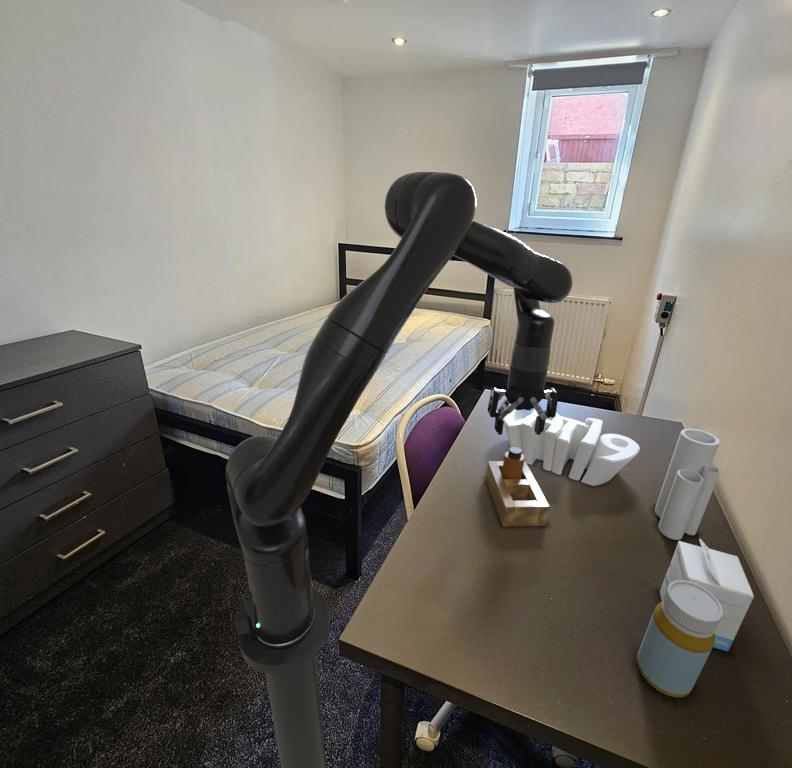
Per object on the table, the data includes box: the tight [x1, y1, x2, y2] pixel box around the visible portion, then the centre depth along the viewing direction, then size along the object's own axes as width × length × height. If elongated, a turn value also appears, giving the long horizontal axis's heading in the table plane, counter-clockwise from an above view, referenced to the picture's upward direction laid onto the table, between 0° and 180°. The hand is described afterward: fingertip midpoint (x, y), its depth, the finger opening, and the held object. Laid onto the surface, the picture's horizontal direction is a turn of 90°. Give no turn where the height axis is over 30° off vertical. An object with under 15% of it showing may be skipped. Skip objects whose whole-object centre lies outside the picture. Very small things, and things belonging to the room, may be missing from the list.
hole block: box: [485, 460, 551, 527], centre depth 92 cm, size 9×16×5 cm, turn 4°
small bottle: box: [502, 447, 525, 479], centre depth 94 cm, size 4×4×11 cm
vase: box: [654, 428, 721, 541], centre depth 84 cm, size 11×7×20 cm, turn 160°
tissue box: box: [659, 538, 755, 652], centre depth 64 cm, size 9×8×13 cm
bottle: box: [636, 580, 723, 698], centre depth 56 cm, size 7×7×15 cm
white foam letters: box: [503, 404, 640, 487], centre depth 107 cm, size 35×16×11 cm, turn 55°
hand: (518, 433), depth 90 cm, fingers open, 8 cm apart
